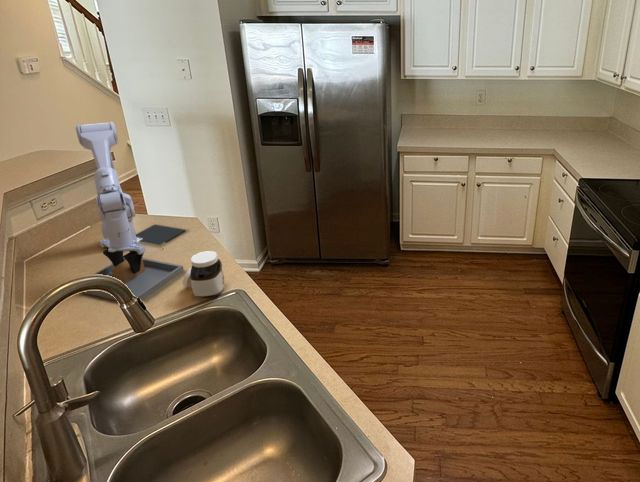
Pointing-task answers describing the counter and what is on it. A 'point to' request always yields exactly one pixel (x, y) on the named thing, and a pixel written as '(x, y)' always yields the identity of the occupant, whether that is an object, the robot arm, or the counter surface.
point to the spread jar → (205, 275)
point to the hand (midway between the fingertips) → (128, 270)
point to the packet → (126, 271)
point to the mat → (159, 234)
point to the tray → (145, 278)
